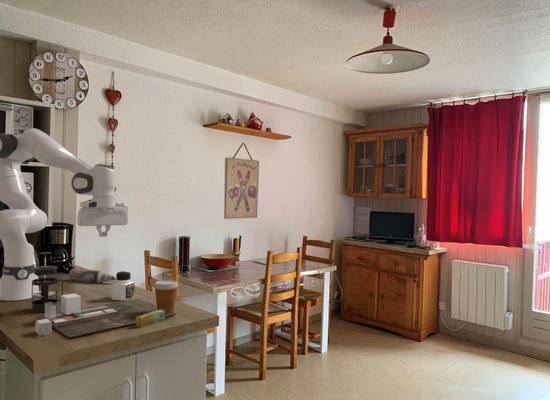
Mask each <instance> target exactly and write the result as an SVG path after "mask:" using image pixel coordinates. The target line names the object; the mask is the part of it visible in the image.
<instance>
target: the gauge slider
mask: <svg viewBox="0 0 550 400" xmlns="http://www.w3.org/2000/svg"><path fill="white" fill-rule="evenodd" d="M81 298H82V296H81V295H79V294H77V293H69V294H63V295H61V294H60V300H61V301H60V312H63V313H64V314H66V315H68V314H72V315H74V316H75V317H79V315H78V314H76V313H80V311H81V309H82V308H81V306H82V305H81V303H82V302H81V301H82V299H81Z"/></svg>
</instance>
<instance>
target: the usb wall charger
mask: <svg viewBox="0 0 550 400" xmlns="http://www.w3.org/2000/svg"><path fill="white" fill-rule="evenodd" d="M34 325H35V326H34V327H35V329H34V330H35V332H36V334H37V335H38V336H45V335H50V334H52V331H53V329H52V328H53V326H52V323H51V322H50V321H49V320H48V319H43V318H42V319H37V320H36V321H35V324H34Z"/></svg>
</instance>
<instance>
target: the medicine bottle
mask: <svg viewBox="0 0 550 400" xmlns="http://www.w3.org/2000/svg"><path fill="white" fill-rule="evenodd" d="M115 278H116V279H115V281H116V282H113V283H112V284H111V298H110V299H111V300H114V301H121V302H123V301H128V300H130V299H133V298H135V281H131V272H130V271H125V270H124V271H123V270H121V271H118V272H117V273H116V275H115Z"/></svg>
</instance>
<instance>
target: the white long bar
mask: <svg viewBox="0 0 550 400" xmlns="http://www.w3.org/2000/svg"><path fill="white" fill-rule="evenodd" d="M99 306H100V305H99ZM93 307H94V306H93ZM87 308H88V307H87ZM81 309H82V308H81ZM104 309H107V307H105V306H100V307H94V308H88V309H82V310H81V311H80V313H76V314H81V313H87V312H92V311H98V310H104ZM56 313H57V310H56V305H55V304H53V303H52V302H47V303H45V313H44V315H45V317H46V318H48V319H49V320H53V319H56V318H58V317H64V316H70V315H72V314H68V315H66V314H64V313H59V312H58V313H59V314H56Z"/></svg>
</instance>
